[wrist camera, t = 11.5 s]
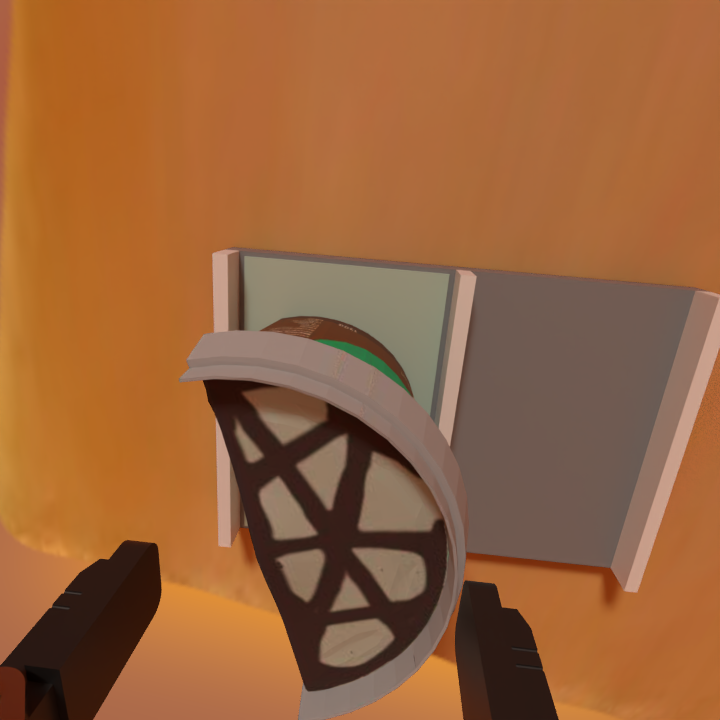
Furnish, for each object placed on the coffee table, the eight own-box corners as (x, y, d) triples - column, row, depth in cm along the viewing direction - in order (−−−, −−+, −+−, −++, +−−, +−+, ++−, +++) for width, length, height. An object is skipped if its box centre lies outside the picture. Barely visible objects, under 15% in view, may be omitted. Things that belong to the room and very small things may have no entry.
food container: (459, 507, 23) (507, 719, 14) (336, 524, 24) (302, 736, 14) (416, 255, 20) (440, 305, 10) (273, 284, 20) (171, 357, 11)
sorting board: (695, 287, 20) (735, 299, 18) (614, 555, 25) (637, 592, 22) (232, 247, 21) (212, 253, 19) (234, 514, 26) (218, 546, 23)
